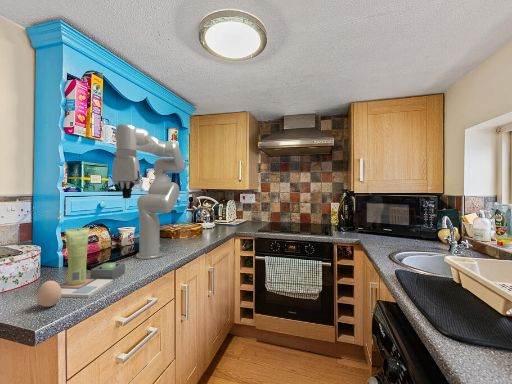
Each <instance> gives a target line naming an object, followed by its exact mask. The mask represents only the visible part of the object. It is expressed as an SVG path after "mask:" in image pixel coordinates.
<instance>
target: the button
mask: <svg viewBox="0 0 512 384" xmlns="http://www.w3.org/2000/svg"><path fill="white" fill-rule="evenodd" d="M104 263H105V264H104ZM104 263H102V264H101V265H102V269H113V268H114V267H116V263H117V262H104Z"/></svg>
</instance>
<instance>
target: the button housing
mask: <svg viewBox="0 0 512 384" xmlns="http://www.w3.org/2000/svg"><path fill="white" fill-rule="evenodd" d="M105 263H106V262H103V264H105ZM115 263H116V267H114V268H113V269H102V264H100V265H97V266H96V267H93V268H91V269H90V279H112V280H113V281H115V280H117V279H118V278H119V277H121V276H122V275H124V274H125V273H126V263H125V262H122V263H121V262H115Z"/></svg>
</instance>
